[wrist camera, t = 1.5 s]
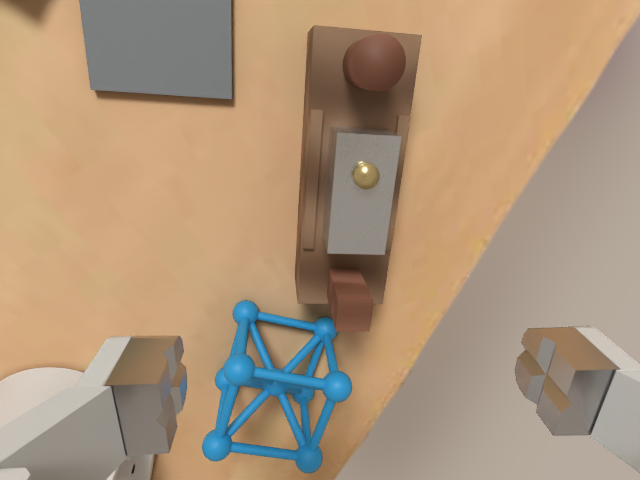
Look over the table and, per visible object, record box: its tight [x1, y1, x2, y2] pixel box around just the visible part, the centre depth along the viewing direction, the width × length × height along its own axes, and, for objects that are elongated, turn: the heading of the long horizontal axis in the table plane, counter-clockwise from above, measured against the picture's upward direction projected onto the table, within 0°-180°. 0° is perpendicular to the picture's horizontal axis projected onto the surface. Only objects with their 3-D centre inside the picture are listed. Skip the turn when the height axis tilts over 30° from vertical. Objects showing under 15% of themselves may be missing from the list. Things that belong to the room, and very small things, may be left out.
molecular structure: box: [202, 300, 352, 473], centre depth 36 cm, size 10×10×10 cm
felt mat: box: [79, 0, 233, 99], centre depth 29 cm, size 10×10×1 cm
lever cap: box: [322, 126, 402, 255], centre depth 28 cm, size 8×4×4 cm, turn 176°
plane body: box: [295, 25, 422, 331], centre depth 30 cm, size 20×7×10 cm, turn 176°
